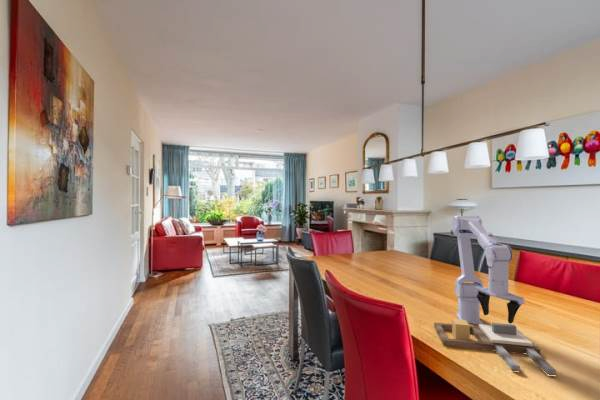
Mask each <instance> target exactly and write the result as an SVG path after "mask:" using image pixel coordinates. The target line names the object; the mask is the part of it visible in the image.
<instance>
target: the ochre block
mask: <svg viewBox="0 0 600 400" xmlns="http://www.w3.org/2000/svg"><path fill="white" fill-rule="evenodd" d="M451 324H452V331H451V333H452V334H451V335H452V337H453V339H460V340H470V341H471V337H470V335H471V333H470V326H471V325H470V323H467V321H466V320H460V319H459V318H457V319H455V318H452V320H451Z"/></svg>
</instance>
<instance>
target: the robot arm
mask: <svg viewBox="0 0 600 400" xmlns="http://www.w3.org/2000/svg"><path fill="white" fill-rule="evenodd" d="M482 221H483V220H482V218H481V217H480V216H479V215H478V214H477V215H454V216H453V217H452V221H451V226H452V234H453V235H454V236H455V237H457V238H456V240H457V245H458V255H459V263H460V272H461V275H459V276H458V277H457V278H456V279H455V280H454V283H455V284H454V293H455V295H456V297H458V299H457V312H455V315H456V317H457V319H458V320H466V321H467V323H468V324H472V325H473V324H474V325H479V324H483V325H484V322H483V321H482V320H481V319H480V318H481V317H480V311H481V310H480V306H481V309H482V313H483V315H484V316H488V315H489V313H490V307H489V306H490V298H491V297H493V298H497V299H499V300H500V299H501V300H504V301H508V302H507V303H506V307H507V324H513V323H514V319H515V317H516V314H517V313H518V310H519V309H520V308H521V306H522V305H524V304H525V297H523V296H518V295H516V294H514V293H510V292H509V277H510V275H509V271H510V269H509V268H510V265H509V263H511V262H512V261H513V258H514V253H513V249H512V248H511V247H510V245H509V244H505V243H501V241H499V239H498V238H496V237H495V235H494V234H493V233H492V232H488V231H487V230H486V229H485V227H484V226H483V222H482ZM473 236H475V237H476V238H477V243H478V244H479V246H480V247H481V248H482V249H483V250H484V254H485V255H484V256H485V259H486V265H487V266H488V287H485V286H484V284H483V281H482V280H481V278H479V277H478V276H477V275H476V272H475V265H474V257H473V250H472V249H473V248H472V243H471V238H472V237H473Z"/></svg>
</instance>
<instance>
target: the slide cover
mask: <svg viewBox="0 0 600 400" xmlns="http://www.w3.org/2000/svg"><path fill="white" fill-rule="evenodd" d="M478 326H479V327H480V329H481V330H482V331H483V332H484V333H485V335H486V336H487V337H488V338H489V339H490V341H491V342H493V343H501V344H511V345H521V346H523V345H524V346H533V344H534V342H532V340H531V339H529V338H528V337H527V336H526V335H525V334H524V333H523V332H521V331H520V330H519V329H517V325H515V324H513V323H511V324H510V323H500V322H499V323H498V322H492V323H491V324H484V323H483V324H478ZM525 336H526V337H527V338H528V339H527V338H526V337H525Z"/></svg>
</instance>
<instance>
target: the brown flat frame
mask: <svg viewBox="0 0 600 400" xmlns="http://www.w3.org/2000/svg"><path fill="white" fill-rule="evenodd" d="M433 324H434V330H435V332H436V334H437V335H438V337H439V341H441V344H442V346H443V345H446V347H453V346H458V347H457V348H463V347H468V348H467V349H472V348H476V349H475V350H482V349H485V350H486V351H492V350H495V351H494V352H495V353H496V352H497V353H498V354H499V355H500V356H501V357H502V359H503V360H504V361H505V362H506V364H507V365H508V366H509V367H510V368H511V370H512V371H519V372H520V373H521V366H520V364H519V363H518V362H517V361H516V359H514V358H513V357H512V355H511V352H515V353H514V354H521V353H526V354H527V355H528V356H529V357H530V358H531V359H532V360H533V361H534V362H535V363H536V364H537V365H538V366H539V367H540V368H542V369H543V370H544V371H545V372H546V373H547V374H549V375H556V376H557V370H556V368H554V366H553V365H551V364H550V363H549V362H548V361H547V360H546V359H545V358H544V357H542V355H541V349H540V348H539V347H538V346H537V345H535V344H534V343H533V346H524V345H513V344H503V343H493V342H491V341H490V339H489V338H488V337H487V336H486V335H485V333H484V332H483V331H482V330H481V329H480V327H479V325H478V326H477V325H470V332H471V333H472V335H473V336H474V337H475V339H476V338H477V339H476V340H471V339H470V340H460V339H455V338H449V336H448V335H447V333H446V332H445V331H451V332H452V323H444V322H443V323H442V322H434V323H433ZM471 333H470V334H471ZM524 336H525V337H526V338H527V339H529V338H528V337H527V336H526V335H524ZM485 350H484V351H485ZM497 353H496V354H497ZM498 354H497V355H498ZM526 354H525V355H526ZM499 355H498V356H499ZM527 355H526V356H527ZM500 356H499V357H500ZM528 356H527V357H528ZM529 357H528V358H529ZM530 358H529V359H530ZM502 359H501V360H502ZM531 359H530V360H531ZM503 360H502V361H503ZM532 360H531V361H532ZM504 361H503V362H504ZM533 361H532V362H533ZM505 362H504V363H505ZM534 362H533V363H534ZM535 363H534V364H535ZM506 364H505V365H506ZM536 364H535V365H536ZM507 365H506V366H507ZM508 366H507V367H508ZM538 366H537V367H538ZM509 367H508V368H509ZM539 367H538V368H539ZM540 368H539V369H540ZM511 370H510V371H511ZM512 371H511V372H512Z"/></svg>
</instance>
